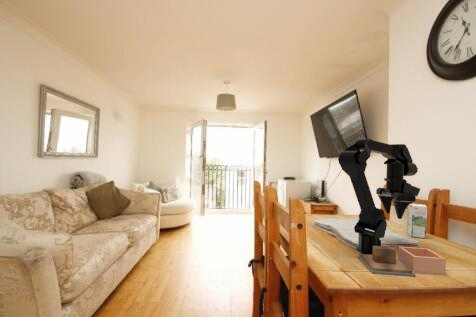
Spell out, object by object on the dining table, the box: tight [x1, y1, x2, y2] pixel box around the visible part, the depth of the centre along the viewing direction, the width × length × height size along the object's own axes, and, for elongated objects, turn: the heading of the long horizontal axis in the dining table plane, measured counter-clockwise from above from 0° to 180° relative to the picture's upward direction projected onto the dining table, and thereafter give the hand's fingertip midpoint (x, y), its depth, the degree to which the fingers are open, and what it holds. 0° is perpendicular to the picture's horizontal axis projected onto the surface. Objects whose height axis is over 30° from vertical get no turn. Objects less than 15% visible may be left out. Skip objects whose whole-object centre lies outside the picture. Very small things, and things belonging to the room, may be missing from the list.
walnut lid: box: [358, 245, 412, 274], centre depth 80 cm, size 11×11×5 cm
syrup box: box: [406, 203, 428, 239], centre depth 114 cm, size 6×6×14 cm
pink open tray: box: [397, 246, 447, 276], centre depth 80 cm, size 9×9×5 cm
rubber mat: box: [357, 255, 416, 278], centre depth 80 cm, size 12×12×1 cm
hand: (393, 216), depth 99 cm, fingers open, 9 cm apart
